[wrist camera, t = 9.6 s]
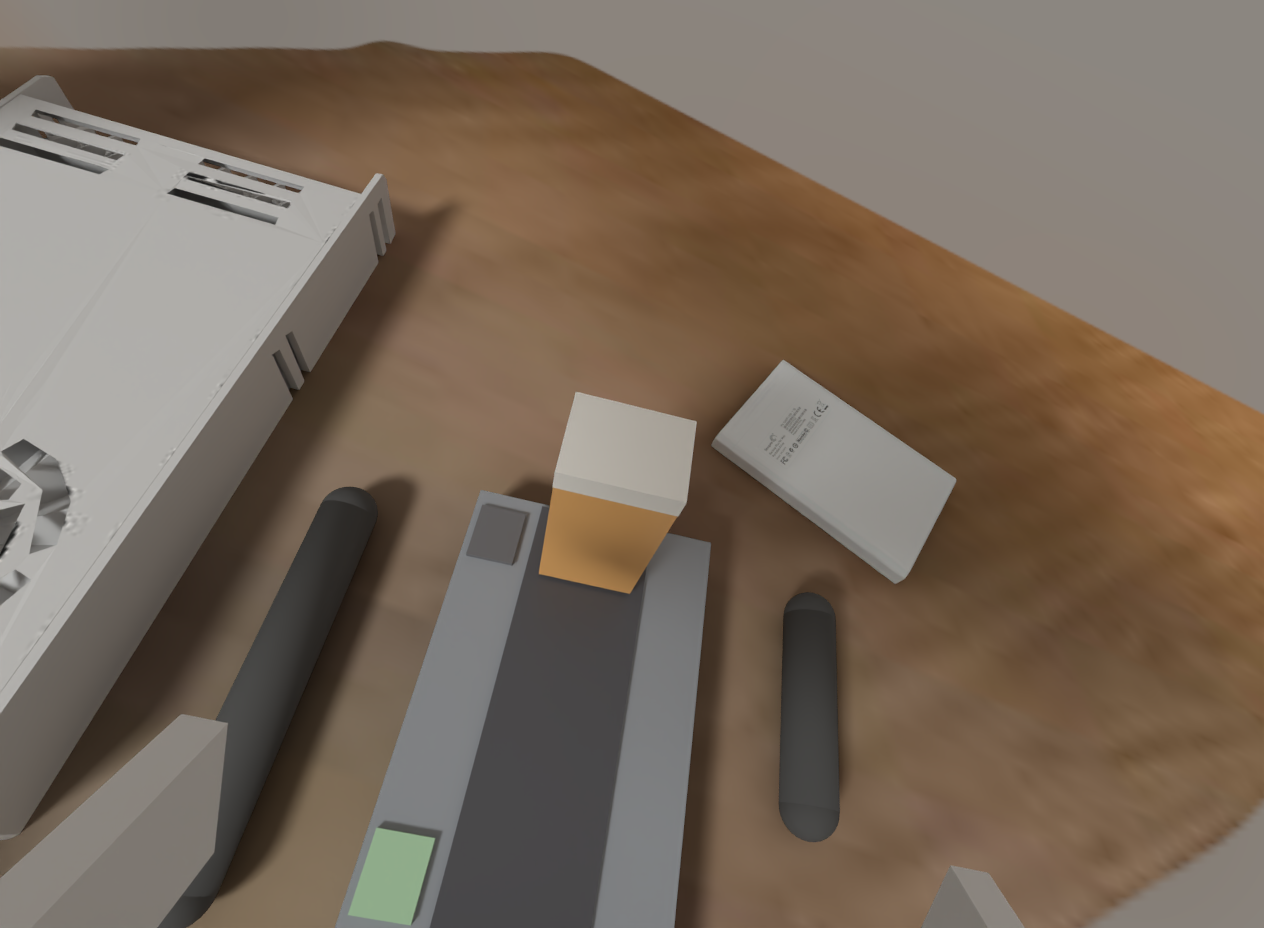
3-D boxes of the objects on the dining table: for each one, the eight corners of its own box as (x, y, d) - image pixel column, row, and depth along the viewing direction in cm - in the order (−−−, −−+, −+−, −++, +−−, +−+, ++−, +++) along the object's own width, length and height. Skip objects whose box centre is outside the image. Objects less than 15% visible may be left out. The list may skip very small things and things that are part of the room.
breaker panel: (644, 1034, 21) (663, 1063, 19) (328, 984, 20) (306, 1008, 18) (696, 561, 30) (712, 540, 28) (482, 512, 29) (480, 487, 27)
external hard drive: (889, 587, 32) (707, 450, 34) (941, 489, 36) (775, 371, 38) (907, 578, 31) (716, 435, 33) (959, 477, 35) (785, 355, 37)
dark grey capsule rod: (823, 845, 25) (852, 849, 23) (768, 835, 25) (792, 837, 23) (821, 606, 30) (844, 591, 28) (776, 596, 30) (796, 581, 28)
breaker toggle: (630, 594, 26) (686, 502, 18) (537, 574, 25) (554, 471, 18) (640, 530, 27) (696, 421, 19) (554, 511, 27) (576, 391, 19)
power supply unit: (398, 241, 38) (385, 170, 34) (26, 841, 21) (-96, 849, 17) (96, 154, 37) (43, 69, 32) (-565, 715, 20) (-860, 689, 15)
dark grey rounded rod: (210, 934, 20) (177, 948, 18) (137, 921, 20) (95, 935, 18) (389, 507, 29) (380, 484, 27) (339, 495, 28) (326, 471, 26)
